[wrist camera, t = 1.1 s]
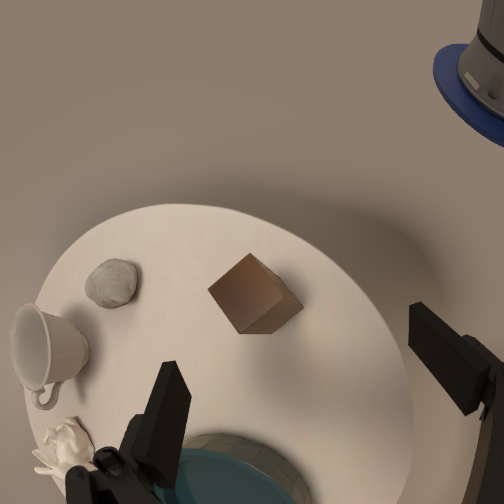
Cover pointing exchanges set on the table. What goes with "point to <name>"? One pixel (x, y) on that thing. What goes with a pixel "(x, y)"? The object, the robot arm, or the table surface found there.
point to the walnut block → (254, 298)
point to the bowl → (233, 474)
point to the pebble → (112, 283)
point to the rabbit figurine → (67, 449)
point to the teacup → (45, 351)
